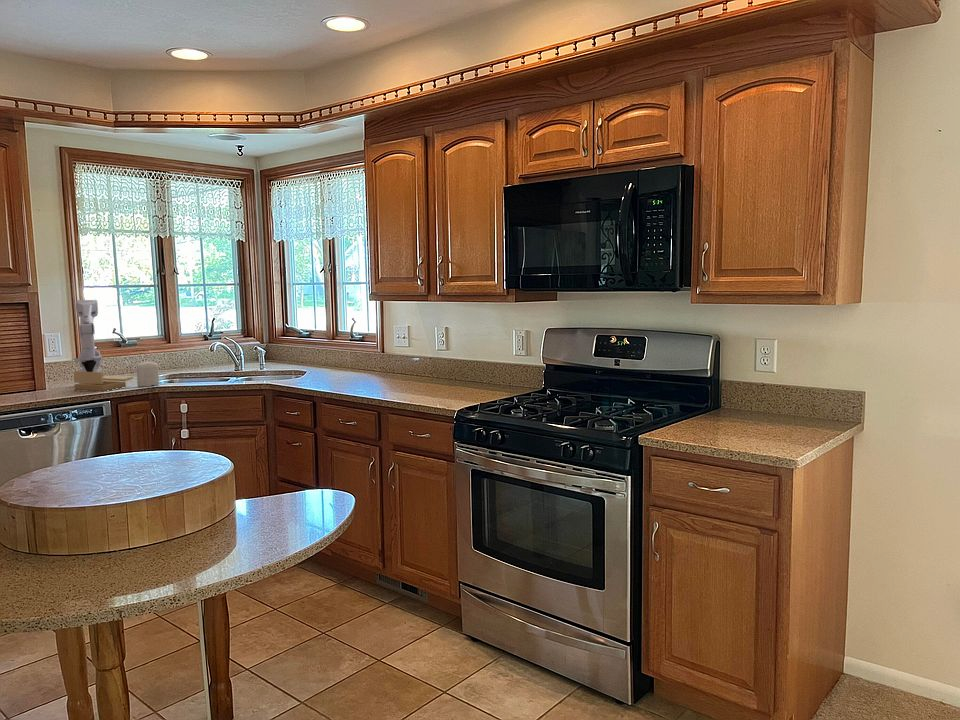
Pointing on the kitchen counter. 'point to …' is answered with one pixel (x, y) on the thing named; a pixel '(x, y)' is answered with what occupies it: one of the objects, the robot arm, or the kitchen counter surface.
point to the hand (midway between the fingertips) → (89, 375)
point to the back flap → (117, 378)
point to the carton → (100, 386)
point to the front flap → (88, 377)
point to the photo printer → (147, 374)
